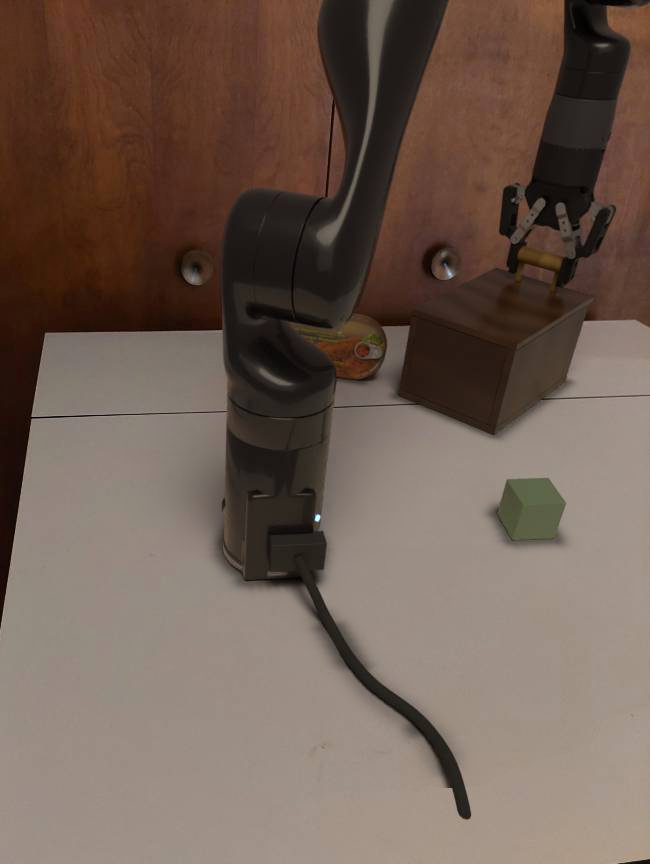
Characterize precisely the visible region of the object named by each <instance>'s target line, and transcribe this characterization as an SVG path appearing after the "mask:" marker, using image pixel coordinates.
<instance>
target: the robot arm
mask: <svg viewBox="0 0 650 864" xmlns="http://www.w3.org/2000/svg"><path fill="white" fill-rule="evenodd" d="M449 2H450V0H321V4H320V7H319V11H318V15H317V21H316V23H317V24H316V31H317V32H316V37H317V45H318V50H319V51H318V52H319V56H320V60H321V64H322V68H323V72H324V75H325V78H326V81H327V84H328V85H327V86H328V89H329V91H330V94H331V97H332V100H333V104H334V106H335V109H336V113H337V116H338V120H339V125H340V129H341V134H342V141H343V145H344V164H343V171H342V176H341V181H340V184H339V187H338V190H337V191H336V193H335V195H334V196H333V197H326V196H320V195H314V194H309V193H308V194H307V193H303V192H295V191H288V190H282V189H277V188H270V187H269V188H268V187H252V188H248V189H246V190H244V191H243V192H242V193H240V194H239V196H237V198H236V199H235V201H234V202H233V203H232V205H231V207H230V209H229V212H228V214H227V217H226V219H225V223H224V228H223V233H222V238H221V245H220V259H219V284H220V306H221V328H222V363H223V368H224V372H225V375H226V422H225V423H226V424H225V425H226V426H225V427H226V428H225V472H224V473H225V474H224V497H223V499H222V501H221V512H223V513H224V519H223V521H224V523H223V526H224V528H223V536H222V550H223V554H224V557H225V558H226V560H227V562H228V563H229V564H230V565H232V566H233V567H234V568H236V569H237V570H238V571H240V572H242V575H243V579H244V580H246V581H249V580H250V581H253V580H269V579H270V580H277V579H278V580H279V579H293V578H296V579H297V578H301V580H302V581H303V584H304V586H305V588H306V590H307V593H308V595H309V597H310V598H311V601H312V603H313V605H314V608H315V610H316V612H317V614H318V616H319V618H320V620H321V622H322V623H323V625H324V627H325V629H326V631H327V632H328V635H329V636H330V638H331V639H332V641H333V644H334V645H335V647H336V648H337V650H338V652H339V653H340V655H341V657H342V659H344V661H345V662H346V664H347V665H348V666H349V667H350V669H351V670H352V671H353V672H354V674H355V675H356V676H357V677H358V678H359V679H360V680H361V681H362V682H363V683H364V684H365V685H366V686H367V687H368V688H369V689H370V690H372V692H374V693H375V694H376V695H377V696H379V697H380V698H382V699H383V700H384V701H385V702H387V703H388V704H390V705H391V706H392V707H394V708H395V709H397V710H399V711H400V712H401V713H402V714H404V715H405V716H406V717H407V718H408V719H410V720H411V721H412V722H413V723H414V724H415V725H416V726H417V727H418V728H419V729H420V731H422V733H423V734H424V735H425V737H426V738H427V739H428V740H429V742H430V743H431V744H432V746H433V748H434V749H435V750H436V753H437V754H438V756H439V757H440V759H441V762H442V763H443V765H444V768H445V771H446V774H447V777H448V780H449V783H450V786H451V790H452V795H453V797H454V798H453V799H454V802H455V806H456V811H457V814H458V817H460V818H461V819H462V820H466V821H468V820H470V819H471V818H472V811H471V805H470V801H469V800H470V799H469V796H468V793H467V792H468V791H467V789H466V786H465V782H464V777H463V776H462V772H461V769H460V766H459V765H458V764H459V763H458V762H457V760H456V758H455V755H454V753H453V751H452V750H451V748H450V746H449V745H448V743H447V742H446V741H445V739H444V738H443V736H442V735H441V734H440V732H439V731H438V730H437V728H436V727H435V726H434V725H433V724H432V723H431V721H430V720H429V719H428V718H427V717H425V715H424V714H423V713H422V712H420V711H419V710H418V709H417V708H415V707H414V706H413V705H412V704H410V703H409V702H408V701H406V700H405V699H403V698H402V697H401V696H399V694H397V693H395V692H394V691H392V690H391V689H390V688H388V687H386V686H385V685H384V684H383V683H382V682H380V681H379V680H378V679H377V678H376V677H374V676H373V674H371V672H369V670H368V669H367V668H366V667H365V665H363V663H361V661H360V659H358V657H357V656H356V654H355V653H354V652H353V650H352V649H351V648H350V646H349V645H348V643H347V641H346V640H345V638H344V636H343V634H342V632H341V631H340V629H339V627H338V625H337V623H336V621H335V620H334V618H333V616H332V615H331V613H330V611H329V609H328V607H327V605H326V603H325V600H324V598H323V596H322V594H321V591H320V589H319V587H318V585H317V583H316V581H315V579H314V577H313V574H312V573H311V571H323V570H325V561H326V554H327V547H328V543H327V539H326V535H325V532H324V530H321V523H322V513H323V503H324V495H325V486H326V477H327V468H328V460H329V451H330V443H331V441H330V440H331V433H332V426H333V416H334V410H335V409H334V407H335V399H336V392H337V391H336V390H337V384H338V383H337V382H338V377H337V370H336V366H335V364H334V362H333V360H332V359H331V358H330V356H329V355H328V354H327V353H326V352H324V351H323V350H322V349H321V348H319V347H318V346H316V345H315V344H313V343H312V342H310V341H309V340H307V339H306V338H304V337H303V336H302V335H301V334H299V333H298V332H297V331H296V330H295V329H294V328H293V327H292V326H291V325H290V323H289V322H293V323H298V324H303V325H308V326H314V327H319V328H324V329H338V328H341V327H343V326H344V325H345V324H346V323H347V322H348V321H349V320H350V319H351V317H352V316H353V314H354V313H355V312H356V311H357V309H358V307H359V304H360V302H361V300H362V299H363V295H364V294H365V293H364V292H365V289H366V287H367V283H368V280H369V278H370V273H371V269H372V265H373V262H374V257H375V254H376V252H377V251H376V250H377V247H378V242H379V238H380V234H381V230H382V226H383V222H384V218H385V212H386V209H387V206H388V202H389V196H390V193H391V188H392V185H393V180H394V177H395V172H396V168H397V163H398V160H399V156H400V152H401V149H402V145H403V141H404V137H405V135H406V132H407V128H408V125H409V122H410V119H411V116H412V113H413V110H414V106H415V104H416V100H417V97H418V95H419V92H420V88H421V85H422V83H423V79H424V77H425V74H426V71H427V67H428V64H429V61H430V59H431V56H432V54H433V51H434V48H435V45H436V42H437V40H438V36H439V34H440V30H441V28H442V24H443V21H444V18H445V15H446V12H447V8H448V5H449ZM649 4H650V0H563V51H562V57H561V61H560V66H559V68H558V73H557V77H556V82H555V85H554V90H553V93H552V97H551V99H550V103H549V105H548V108H547V111H546V114H545V118H544V121H543V127H542V131H541V134H540V137H539V138H540V139H539V142H538V146H537V147H538V148H537V151H536V155H535V156H536V157H535V160H534V164H533V168H532V172H531V179H530V181H529V183H528V184H527V185H521V184H520V183H519V182H515V183H512V184H509V185H507V186H505V187H503V190H502V197H501V207H500V208H501V209H500V216H499V217H500V218H499V227H498V233H499V235H500V236H501V237H502V236H503V237H506V238H507V239H508V240H509V242H510V246H509V250H508V254H507V258H506V263H505V264H506V268H508V270H507V271H508V272H509V273H513V274H515V273H517V268H518V264H519V262H518V261H517V255H518V252H519V250H520V249H521V247H522V246H526V247H527V246H528V241H526V240H527V239H528V238H529V236H530V235H531V234H532V232H533V231H534V230H535V229H536V228H537V227H538V226H539V227H548V228H550V229H552V230H555V231H559V232H560V238H561V241H562V242H563V245H564V251H565V256H563V257H564V258H563V260H562V264H561V268H560V271H559V275H558V278H557V282H556V286H557V287H560V288H562V287H566V286H567V285H568V284H570V283H572V281H573V280H574V278H575V276H576V272H577V269H578V265H579V262H580V259H581V258H584V259H587V258H590V257H591V256H593V255H595V254H597V253H598V252H599V250H600V248H601V246H602V244H603V241H604V239H605V237H606V235H607V232H608V230H609V228H610V226H611V223H612V221H613V219H614V217H615V215H616V212H617V207H616V205H614V204H609V205H606V204H603V203H601V202H598V201H596V198H595V187H596V184H597V182H598V177H599V174H600V172H601V168H602V165H603V160H604V158H605V157H604V156H605V153H606V150H607V147H608V143H609V141H610V139H611V136H612V130H613V129H612V128H613V125H614V121H615V116H616V110H617V105H618V99H619V96H620V93H621V88H622V85H623V82H624V78H625V75H626V72H627V71H626V70H627V68H628V64H629V61H630V57H631V52H632V44H631V41H630V40H629V39H628V38H627V37H626V36H624V35H623V34H621V33H619V32H616V31H615V30H614V29H613V28H611V27H610V25H609V20H608V7H616V8H623V9H638V8H641V7H645V6H646V5H649ZM524 198H525V201H526V204H527V207H528V210H529V211H528V212H527V213H526V215H525V216H524V217H523V218H522V220H521V221H520V222H519V225H518V217H519V210H520V209H519V208H520V203H522V202H523V200H524ZM588 212H590V214H591V215H590V222H591V223H592V225H591V228H590V230H589V232H588V235H587V237H586V239H585V242H584V241H583V232H584V231H583V223H582V217H584V216H585V215H586V214H587V213H588ZM355 314H356V313H355ZM288 321H289V322H288Z"/></svg>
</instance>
